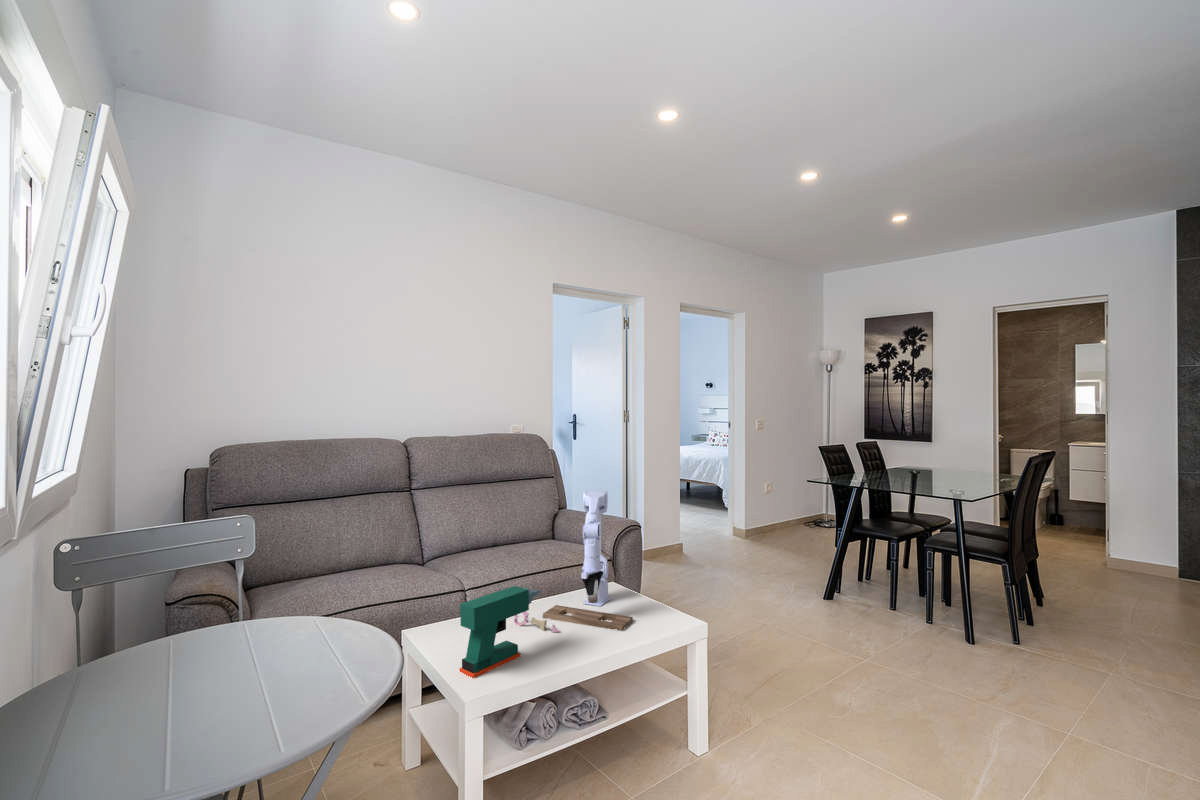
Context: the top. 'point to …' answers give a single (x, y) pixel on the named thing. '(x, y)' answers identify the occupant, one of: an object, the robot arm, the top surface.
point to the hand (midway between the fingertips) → (592, 593)
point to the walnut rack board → (588, 617)
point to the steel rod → (594, 594)
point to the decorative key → (533, 620)
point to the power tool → (491, 628)
